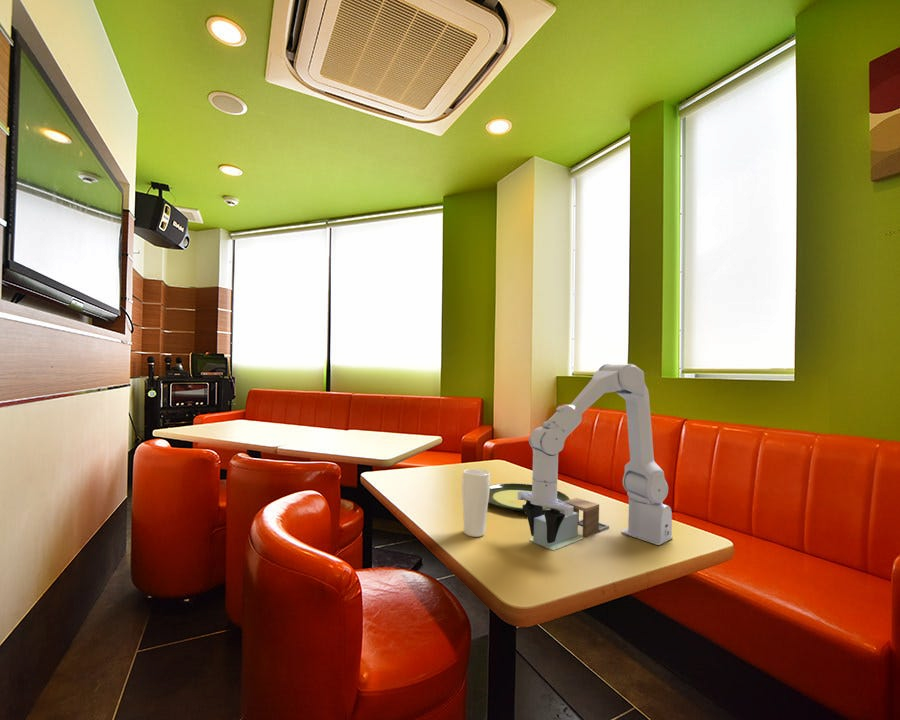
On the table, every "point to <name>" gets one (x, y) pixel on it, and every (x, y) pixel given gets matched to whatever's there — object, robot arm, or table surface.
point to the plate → (513, 496)
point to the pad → (562, 543)
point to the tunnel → (586, 515)
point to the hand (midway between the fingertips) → (543, 538)
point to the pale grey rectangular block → (564, 532)
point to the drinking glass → (475, 501)
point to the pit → (601, 526)
